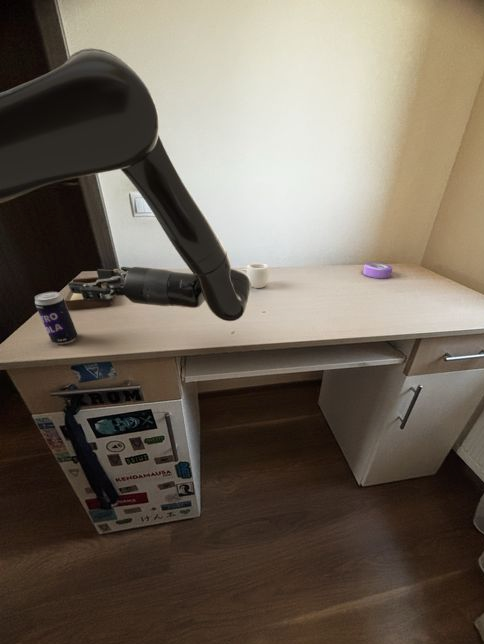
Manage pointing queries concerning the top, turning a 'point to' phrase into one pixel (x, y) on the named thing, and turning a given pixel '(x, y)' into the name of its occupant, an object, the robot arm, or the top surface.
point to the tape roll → (377, 270)
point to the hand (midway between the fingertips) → (85, 280)
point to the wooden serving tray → (77, 300)
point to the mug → (257, 274)
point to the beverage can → (56, 317)
